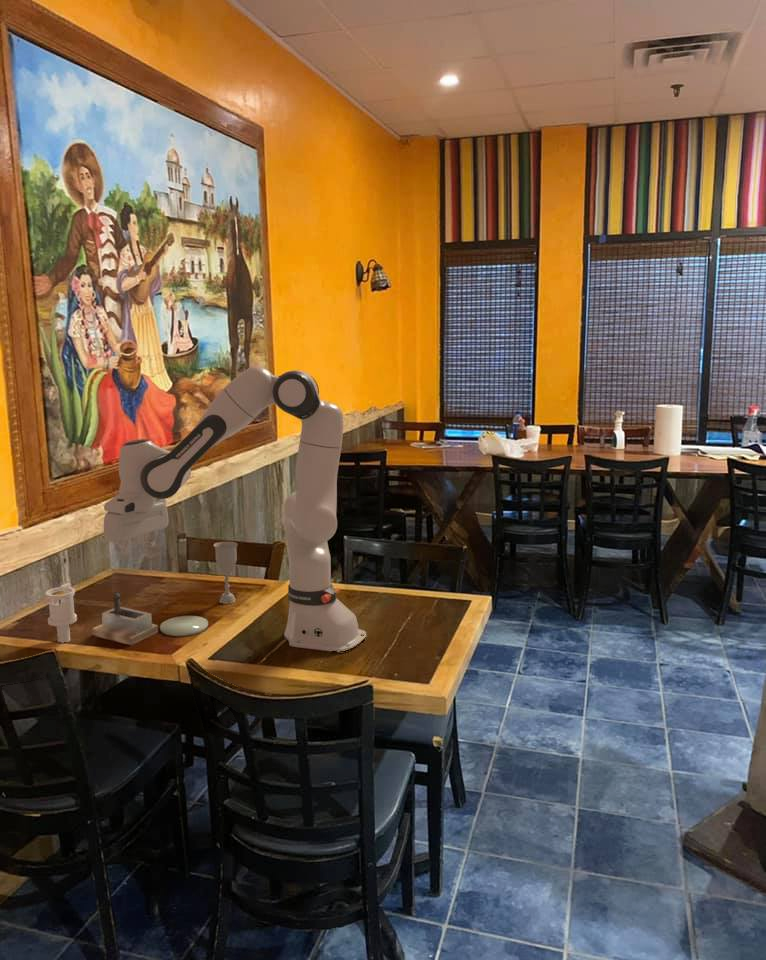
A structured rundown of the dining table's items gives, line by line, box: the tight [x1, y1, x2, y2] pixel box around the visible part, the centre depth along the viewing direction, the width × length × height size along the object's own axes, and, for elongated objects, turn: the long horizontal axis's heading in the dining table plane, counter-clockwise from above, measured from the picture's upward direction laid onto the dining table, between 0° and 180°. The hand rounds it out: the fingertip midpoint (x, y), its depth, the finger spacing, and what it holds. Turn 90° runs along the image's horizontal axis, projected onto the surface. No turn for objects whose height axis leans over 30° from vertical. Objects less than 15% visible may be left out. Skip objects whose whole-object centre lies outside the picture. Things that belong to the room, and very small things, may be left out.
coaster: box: [159, 615, 209, 637], centre depth 212 cm, size 13×13×1 cm
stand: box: [91, 592, 159, 646], centre depth 206 cm, size 14×10×11 cm
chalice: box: [213, 541, 239, 605], centre depth 230 cm, size 7×7×18 cm
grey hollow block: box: [101, 606, 153, 635], centre depth 206 cm, size 12×6×4 cm, turn 64°
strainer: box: [45, 582, 78, 644], centre depth 201 cm, size 7×7×15 cm
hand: (138, 551), depth 203 cm, fingers open, 8 cm apart
